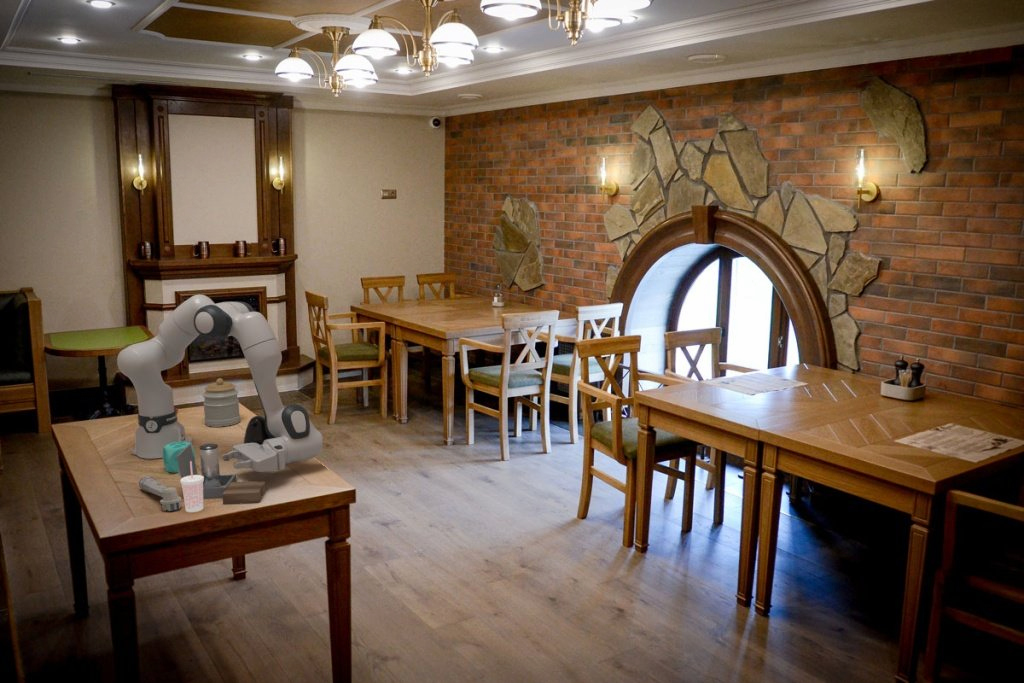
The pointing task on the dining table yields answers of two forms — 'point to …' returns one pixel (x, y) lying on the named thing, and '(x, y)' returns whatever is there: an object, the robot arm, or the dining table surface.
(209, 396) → the jar
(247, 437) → the black egg-shaped speaker
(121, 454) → the dining table surface
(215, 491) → the equipment case
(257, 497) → the walnut block
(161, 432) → the robot arm
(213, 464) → the steel canister
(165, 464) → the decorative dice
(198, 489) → the beverage cup
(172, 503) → the grey flashlight
